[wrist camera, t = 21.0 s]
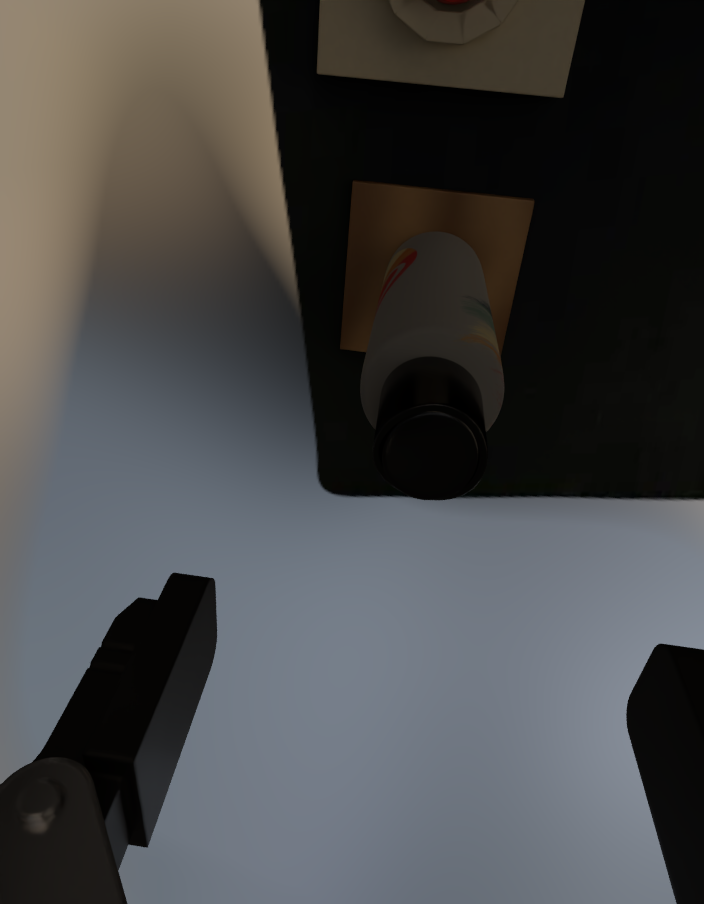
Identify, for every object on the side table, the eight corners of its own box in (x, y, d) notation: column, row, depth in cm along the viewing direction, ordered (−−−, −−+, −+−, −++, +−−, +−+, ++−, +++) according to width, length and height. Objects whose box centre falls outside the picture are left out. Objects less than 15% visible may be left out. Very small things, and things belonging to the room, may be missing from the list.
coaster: (341, 345, 41) (339, 349, 41) (353, 179, 36) (352, 181, 36) (497, 364, 41) (497, 368, 40) (533, 198, 36) (535, 200, 35)
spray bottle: (368, 298, 39) (315, 488, 22) (414, 210, 36) (393, 353, 19) (450, 340, 40) (459, 555, 23) (502, 258, 37) (555, 435, 20)
